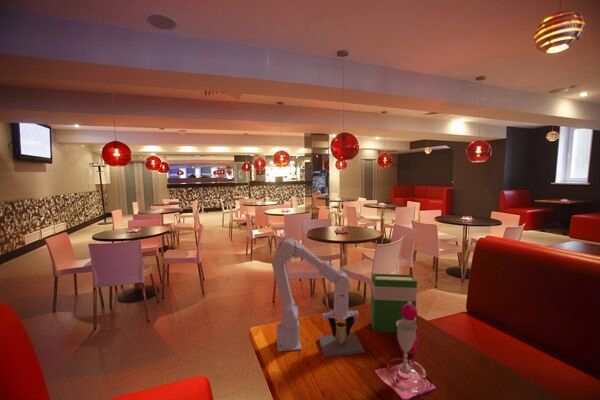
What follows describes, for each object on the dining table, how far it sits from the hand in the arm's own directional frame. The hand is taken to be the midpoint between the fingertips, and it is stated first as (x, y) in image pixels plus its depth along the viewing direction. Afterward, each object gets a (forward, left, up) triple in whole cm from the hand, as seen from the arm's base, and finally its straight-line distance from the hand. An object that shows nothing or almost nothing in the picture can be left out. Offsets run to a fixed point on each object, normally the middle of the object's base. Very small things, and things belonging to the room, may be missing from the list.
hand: (340, 334), depth 111 cm
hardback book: (+27, +9, -5) cm, 29 cm away
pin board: (0, 0, -5) cm, 5 cm away
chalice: (+18, -18, -5) cm, 26 cm away
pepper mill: (+26, -6, -5) cm, 27 cm away
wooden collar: (0, 0, -2) cm, 2 cm away
